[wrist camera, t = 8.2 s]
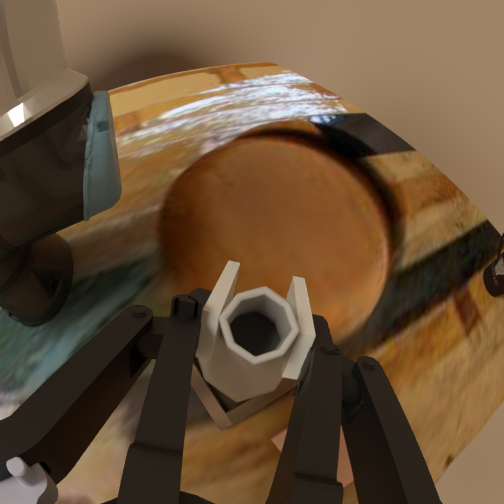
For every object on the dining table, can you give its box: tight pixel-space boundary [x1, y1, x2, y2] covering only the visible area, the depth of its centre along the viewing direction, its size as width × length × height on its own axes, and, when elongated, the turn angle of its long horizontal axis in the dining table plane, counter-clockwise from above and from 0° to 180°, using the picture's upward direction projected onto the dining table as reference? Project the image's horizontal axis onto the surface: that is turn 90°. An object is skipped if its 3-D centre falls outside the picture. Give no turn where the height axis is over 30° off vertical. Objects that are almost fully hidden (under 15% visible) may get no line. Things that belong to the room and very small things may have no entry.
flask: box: [198, 286, 301, 402], centre depth 15 cm, size 7×7×10 cm
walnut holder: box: [191, 362, 301, 431], centre depth 30 cm, size 12×12×2 cm
